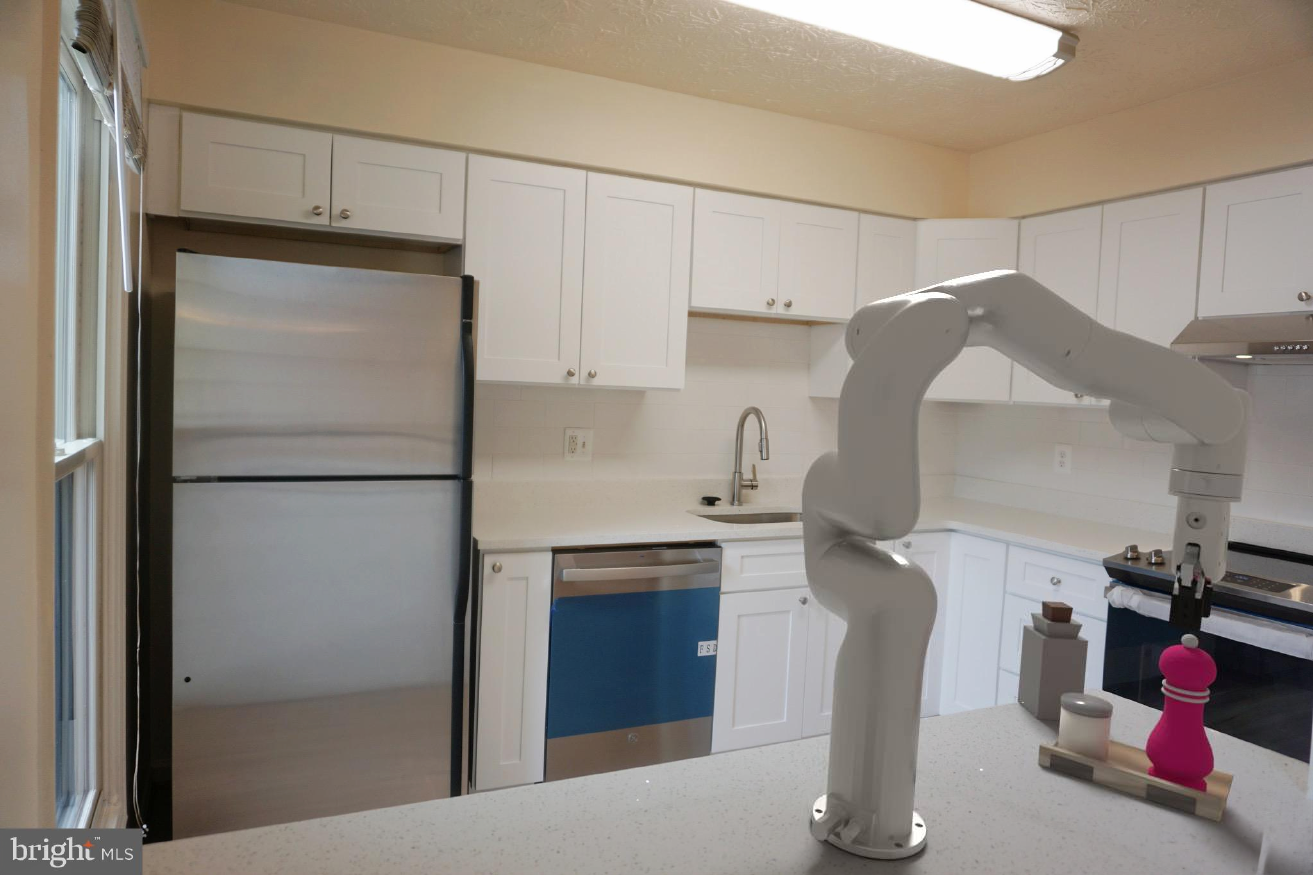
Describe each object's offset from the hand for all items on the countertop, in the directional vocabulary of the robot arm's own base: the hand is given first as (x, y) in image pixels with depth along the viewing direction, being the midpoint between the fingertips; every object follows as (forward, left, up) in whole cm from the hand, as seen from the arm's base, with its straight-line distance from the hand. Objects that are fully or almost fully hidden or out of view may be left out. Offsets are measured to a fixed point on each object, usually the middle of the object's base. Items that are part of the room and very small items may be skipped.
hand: (1189, 621), depth 99 cm
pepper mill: (0, 0, -22) cm, 22 cm away
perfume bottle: (+15, +19, -23) cm, 33 cm away
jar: (0, +11, -22) cm, 24 cm away
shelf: (+2, +5, -23) cm, 23 cm away
